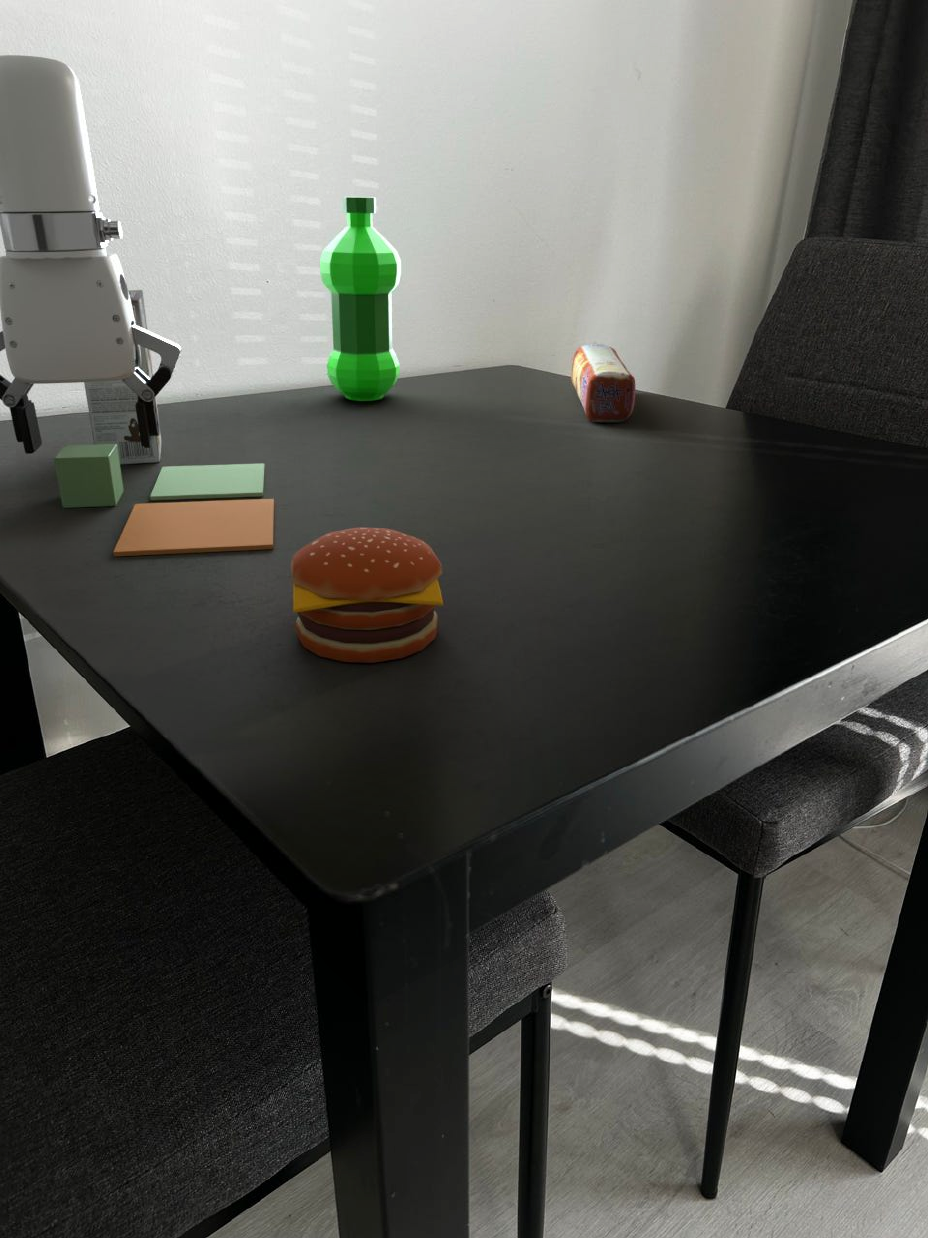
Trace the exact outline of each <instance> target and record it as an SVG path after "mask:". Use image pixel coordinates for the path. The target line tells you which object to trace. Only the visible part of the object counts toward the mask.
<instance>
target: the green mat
mask: <svg viewBox="0 0 928 1238" xmlns="http://www.w3.org/2000/svg"><path fill="white" fill-rule="evenodd" d="M264 484H265V463H236V464H235V463H233V464H205V465H204V464H203V465H201V464H200V465H174V466H173V465H172V466H162V467H161V469H160V471H159V474H158V476H157V478H156V481H155V484H154V486H153V488H152V491H151V493H150V496H149V501H174V500H175V501H176V500H204V499H205V500H206V499H227V498H228V499H229V498H230V499H233V498H255V497H257V498H258V497H259V498H260V497H264Z"/></svg>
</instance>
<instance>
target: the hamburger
mask: <svg viewBox="0 0 928 1238" xmlns="http://www.w3.org/2000/svg"><path fill="white" fill-rule="evenodd" d="M442 566H443V565H442V563H441V562H440V559H438V556H437V555H436V554H435V552H434V551H433V548H432V547H431V546H430V545H429V544H428V543H427V542H425V541H424V540H422V539H420V538H418V537H415V536H412V535H409V534H407V533H403V532H400V531H397V530H394V529H391V528H385V527H383V528H382V527H364V526H363V527H362V526H361V527H353V528H348V529H347V528H346V529H342V530H335V531H330V532H328V533H326V534H324V535H322V536H320V537H319V538H316V539H315V540H313V541H311V542H310V543H308V544H305V545H304V546H303V547H301V548H300V549H299V550H297V551H296V552H295V553H294V555H293V556H292V558H291V563H290V570H291V571H290V572H291V579H292V584H293V585H292V586H293V587H292V588H293V591H292V604H293V605H292V606H293V607H292V608H293V609H292V611H293V612H292V613H293V614H297V618H296V621H295V623H294V627H295V633H296V635H297V636H298V639H299V641H300V643H301V645H302V647H303V648H305V649H307V650H308V651H310V652H312V653H313V654H315V655H316V656H318V657H321V658H326V659H330V660H335V661H339V662H343V663H361V664H363V663H364V664H365V663H367V664H374V663H380V662H381V663H382V662H387V661H392V660H398V659H403V658H406V657H409V656H410V655H414V654H416V653H418V652H421V651H423V650H424V649H425V648H426V647H427V646H428V645H430V643H432V642H433V641H434V640H435V639H436V637H437V632H438V624H439V615H438V614H437V612H436V609H435V608H436V607H444V602H443V597H442V590H441V587H440V584H439V580H438V578H439V577H440V576H441V575H443V567H442Z"/></svg>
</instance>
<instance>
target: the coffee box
mask: <svg viewBox="0 0 928 1238" xmlns="http://www.w3.org/2000/svg"><path fill="white" fill-rule="evenodd" d="M128 292H129V296H130V300H131V305H132V309H133V314H134V319H135V323H136V326H138V327H141V328H143V329H145V330H147V331H149V330H148V324H147V315H146V306H145V297H144V292H143V289H134V290H133V289H131V290H130V289H128ZM140 350H141V365H140V366H139V367H138V368H139V369H140V370H141V371H143V372H144V373H145V374H146V375H147V376H148V377H149V378H150V379H151V377H152V376H153V375H154V371H153V364H152V354H151V350H149V349H147V348H145V347H142V346H140ZM83 384H84V390H85V396H86V402H87V410H88V415H89V421H90V427H91V435H92V441H93V444H117V448H118V455H119V462H120V466H121V465H135V464H150V463H151V464H152V463H154V464H155V463H160V461H161V456H162V455H161V453H162V434H161V433H160V435H159V436H154V442H153V444H152V446H151V448H144V447H142V445H141V439H140V433H139V426H138V420H137V414H136V407H135V404H136V402H137V401H138V396H137V394H136V393H135V392H134V391H133V390H131V389H130V388H129V387H128V386H127V385H126V384H125V383H124V382H123V381H122V380H118V381H103V382H83ZM155 400H156V407H157V408H158V403H157V402H158V401H157V396H156V397H155ZM157 414H158V415H159V410H158V409H157ZM158 421H159V422H160V420H159V417H158ZM159 428H160V425H159ZM160 429H161V428H160Z"/></svg>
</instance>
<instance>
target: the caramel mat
mask: <svg viewBox="0 0 928 1238" xmlns="http://www.w3.org/2000/svg"><path fill="white" fill-rule="evenodd" d="M274 516H275V499H274V498H258V499H257V498H256V499H254V498H253V499H230V500H229V499H228V500H225V499H224V500H202V501H201V500H200V501H199V500H198V501H180V502H179V501H177V502H176V501H175V502H148V503H134V505H133V508H132V509H131V512H130V513H129V516H128V519H127V520H126V523H125V525H124V528H123V530H122V532H121V534H120V536H119V539H118V541H117V543H116V544H115V547H114V549H113V551H112V554H113V555H112V556H113V557H133V556H135V557H136V556H155V555H156V556H157V555H175V554H177V555H178V554H197V553H198V554H199V553H200V554H201V553H218V552H219V553H220V552H221V553H222V552H237V551H238V552H239V551H263V550H273V549H274V527H275V526H274V524H275V523H274V522H275V519H274V518H275V517H274Z"/></svg>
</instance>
